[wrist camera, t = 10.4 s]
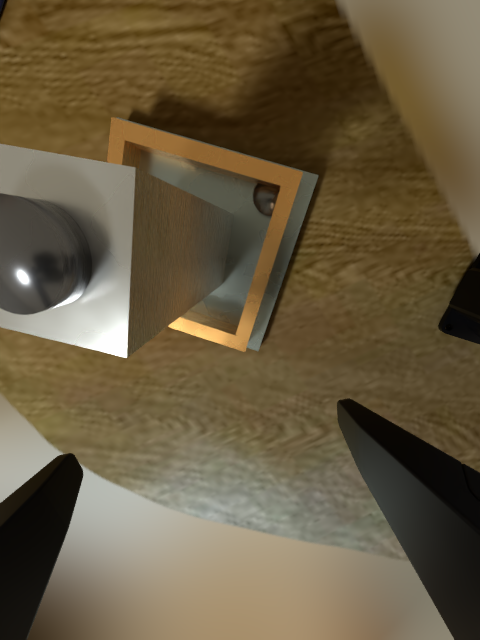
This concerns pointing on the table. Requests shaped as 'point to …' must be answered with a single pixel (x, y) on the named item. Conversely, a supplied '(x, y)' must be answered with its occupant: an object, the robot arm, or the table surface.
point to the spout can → (101, 250)
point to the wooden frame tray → (247, 226)
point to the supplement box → (1, 4)
